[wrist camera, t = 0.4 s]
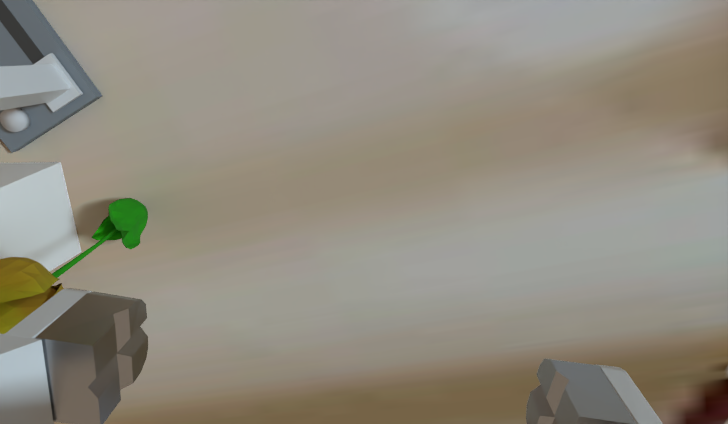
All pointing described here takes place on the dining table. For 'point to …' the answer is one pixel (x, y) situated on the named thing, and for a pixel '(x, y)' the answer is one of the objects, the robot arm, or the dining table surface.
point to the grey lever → (37, 85)
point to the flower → (34, 282)
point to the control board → (26, 47)
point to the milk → (36, 214)
